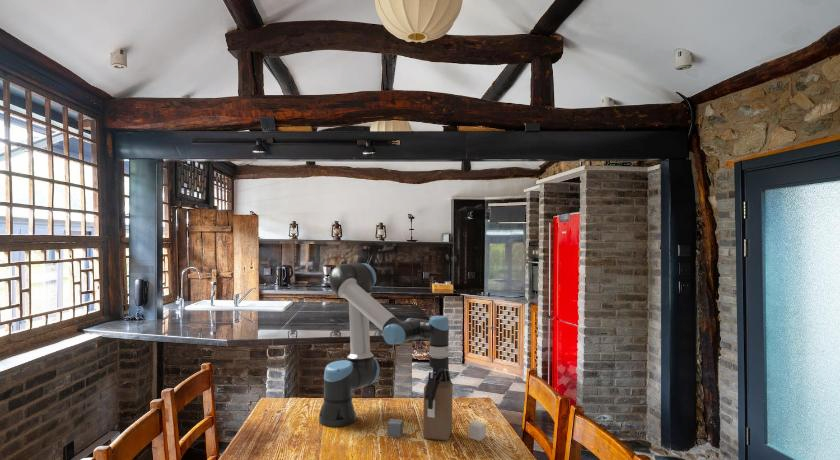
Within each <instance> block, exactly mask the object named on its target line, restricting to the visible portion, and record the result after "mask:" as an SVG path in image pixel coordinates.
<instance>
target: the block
mask: <svg viewBox="0 0 840 460" xmlns="http://www.w3.org/2000/svg"><path fill="white" fill-rule="evenodd" d="M427 383H428V381H427V382H426V384H425V385H424V387H423V411H422V412H423V414H422V415H423V416H422V417H423V418H422V420H423V421H422V422H423V423H422V430H423V431H422V437H423V439H426V440H427V439H428V440H436V441H437V440H438V441H449V438H450V436H451V433H452V429H453V385H454V384H453V382H452V381H451V382H450V381H440V383H439V384H438V387H437V390H436V394H435V397H434V400H435V418H432V417H428V400H427V399H425V394H426V389H427Z"/></svg>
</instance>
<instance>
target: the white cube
mask: <svg viewBox="0 0 840 460" xmlns="http://www.w3.org/2000/svg"><path fill="white" fill-rule="evenodd" d="M467 431H468V432H467V438H469V439H473V440H476V441H478V442H479V441H482V440H483V439H484V438H486V437H487V424H486V423H484V422H481V421H478V420H473V421H472V422H471V423H469V424H468V425H467Z"/></svg>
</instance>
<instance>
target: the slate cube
mask: <svg viewBox="0 0 840 460" xmlns="http://www.w3.org/2000/svg"><path fill="white" fill-rule="evenodd" d="M386 427H387V428H386V431H387V432H386V437H391V438H393V437H394V438H401V437H402V434H403V433H404V432H403V431H404V419H399V418H397V419H396V418H390V419H389V420H388V422H387V425H386Z"/></svg>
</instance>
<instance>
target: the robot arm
mask: <svg viewBox="0 0 840 460" xmlns="http://www.w3.org/2000/svg"><path fill="white" fill-rule="evenodd" d="M328 280H329V285H330V287H331V289H332V290H333V292H334V293H335V294H336V295H337V296H338V297H339V298H341V299H345V300H346V301H348V310H349V311H348V313H349V315H348V316H349V317H348V318H349V339H350V341H349V343H350V352H349V354H348V355H347V356H346V358H347V359H342V360H335V361H331V362H329V363H327V365H326V366H325V368H324V372H323V373H324V374H323V402H322V406H321V409H320V412H319V414H318V422H319V424H321V425H323V426H326V427H344V426H348V425H351V424H353V423H355V421H356V419H357V412H356V411H355V406H354V402H353V391H356V390H358V389H361V388H365V387H368V386H370V385H372V384H374V383H375V382H376V381H377V380H378V378H379V375H380V371H381V370H380V364H379V362H378V360H377V359H376V358H375V355H374V354H373V353H372V352H371V345H370V343H371V338H370V322H371V323H372V324H373V325H375V327H377V328H378V329H379V330H380V331H381V332H382V337H383V339H384V341H385V343H386V344H388V345H392V346H393V345H400V344H402V343H406V342H409V341H413V340H417V339H422V340H429V342H428V343H429V344H428V345H429V353H428V354H429V358H428V359H429V362H428V363H429V365H428V366H429V367H430V368H432V372H431V371H430V372H428V379H427V382H428V383H427V382H426V384H427V389H426V394H425V399H427V400H428V417H432V418H435V400H434V397H435V394H436V390H437V387H438V384H439V383H440V381H450V382H452V381H451V375H450V370H449V364H450V363H449V361H450V359H449V357H448V356H449V352H450V346H449V345H450V344H449V343H450V342H449V340H450V338H449V336H450V335H449V334H450V333H449V332H450V326H449V325H450V323H449V318H448V316H445V315H432V316H430V317H429V320H427V319H422V318H416V317H408V318H406V320H404V321H401V320H400V319H398V318H397V317H396V316H395V315H394V314H393V313H391V312H390V311H389V310H388V309H387V308H385V307H384V306H383V305H382V304H381V303H380V302H378V300H376V299H375V298H374V297H373V296H372V295H371V294H372V288H373V287H374V286H375V284H376V282H377V273H376V272H375V270H374V268H373V267H372V266H371V265H370V264H368V263H365V262H364V263H362V262H357V263H355V262H354V263H340V264H338V265H336V266H334V267H333V268H332V269H331V271H330V273H329V279H328Z"/></svg>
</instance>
